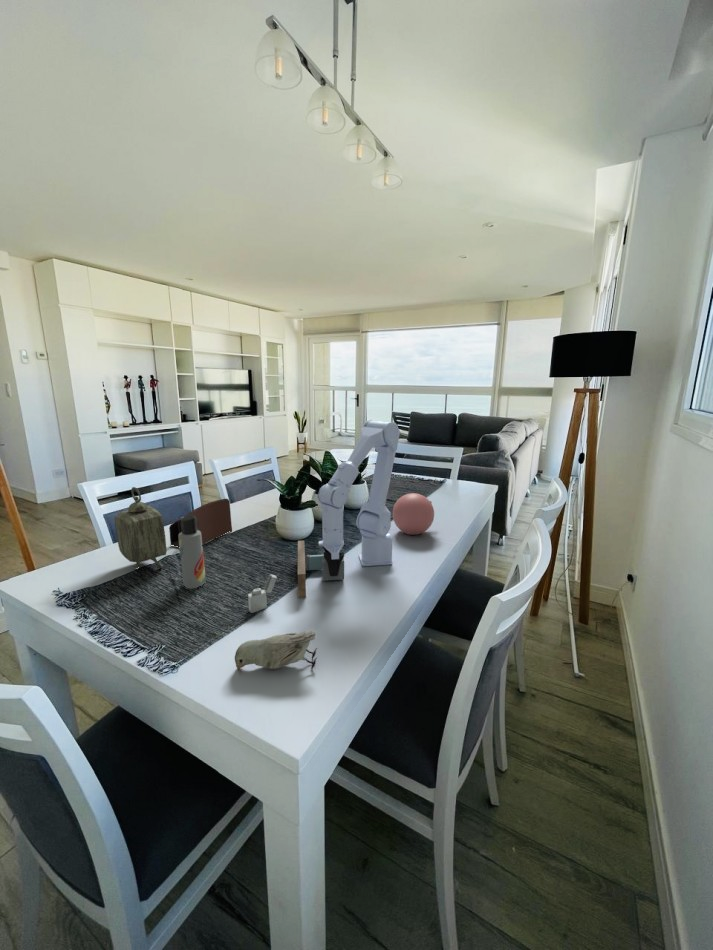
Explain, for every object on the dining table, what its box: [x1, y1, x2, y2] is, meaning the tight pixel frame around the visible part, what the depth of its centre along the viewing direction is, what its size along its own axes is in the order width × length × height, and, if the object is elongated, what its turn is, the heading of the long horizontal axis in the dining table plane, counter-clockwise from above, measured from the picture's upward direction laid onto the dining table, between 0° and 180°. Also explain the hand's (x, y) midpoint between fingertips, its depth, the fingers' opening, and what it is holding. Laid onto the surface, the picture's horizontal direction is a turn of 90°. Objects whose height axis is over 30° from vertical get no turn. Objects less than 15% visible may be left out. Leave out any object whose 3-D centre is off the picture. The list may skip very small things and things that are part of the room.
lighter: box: [247, 573, 278, 614], centre depth 95 cm, size 7×2×8 cm, turn 125°
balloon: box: [392, 492, 435, 536], centre depth 144 cm, size 15×20×15 cm
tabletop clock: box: [114, 486, 167, 569], centre depth 113 cm, size 14×9×25 cm, turn 47°
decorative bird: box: [234, 630, 318, 673], centre depth 75 cm, size 5×16×8 cm, turn 95°
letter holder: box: [168, 498, 233, 547], centre depth 136 cm, size 10×20×14 cm, turn 157°
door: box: [305, 554, 324, 571], centre depth 115 cm, size 10×2×4 cm, turn 98°
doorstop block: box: [321, 556, 345, 582], centre depth 108 cm, size 6×4×6 cm, turn 98°
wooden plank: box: [297, 540, 307, 599], centre depth 110 cm, size 2×22×7 cm, turn 8°
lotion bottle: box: [178, 514, 206, 589], centre depth 104 cm, size 6×6×20 cm
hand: (333, 571), depth 109 cm, fingers closed on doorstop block, 4 cm apart
